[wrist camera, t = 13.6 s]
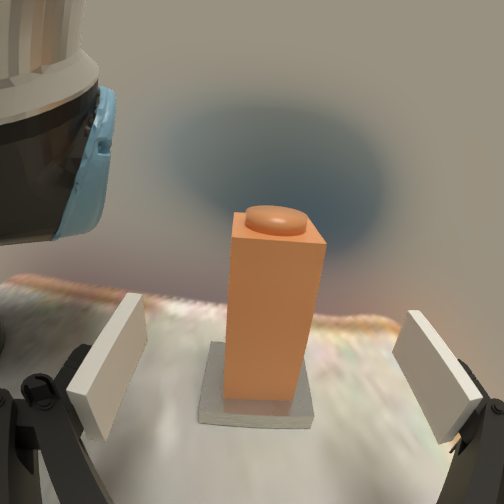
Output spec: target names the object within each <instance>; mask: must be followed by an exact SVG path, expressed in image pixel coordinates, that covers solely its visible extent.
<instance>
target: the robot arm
mask: <svg viewBox="0 0 504 504" xmlns="http://www.w3.org/2000/svg"><path fill="white" fill-rule="evenodd" d="M85 5H86V0H0V246H1V245H12V244H22V243H32V242H41V241H56V240H58V239H59V238H63V237H69V236H74V235H80V234H85V233H87V232H90V231H91V230H92V229H94V228H95V227H96V225H97V224H98V223H99V220H100V218H101V215H102V212H103V208H104V202H105V197H106V190H107V182H108V174H109V167H110V157H111V155H110V148H111V145H112V137H113V132H114V124H115V113H116V95H115V92H114V91H113V90H112V89H107V88H106V87H105V86H99V87H98V76H99V67H98V65H97V64H96V62H95V61H94V60H92V59H91V58H90V57H89V56H88V55H87V54H86V53H85V52H84V51H83V50H82V49H81V46H80V43H81V34H82V26H83V18H84V12H85ZM4 341H5V330H4V327H3V324H2V321H1V318H0V353H1V351H2V348H3V345H4ZM147 341H148V340H147V332H146V323H145V314H144V304H143V294H136V293H127V294H126V296H125V297H124V299H123V300H122V302H121V303H120V305H119V306H118V308H117V309H116V311H115V312H114V314H113V315H112V317H111V318H110V320H109V321H108V323H107V324H106V326H105V327H104V329H103V330H102V332H101V333H100V335H99V337H98V338H97V340H96V341H95V343H94V344H93V346H91V345H86V344H82V345H80V346H79V347H77V348H76V349H75V350H73V352H72V353H71V355H70V356H69V358H68V360H67V361H66V362H65V364H64V367H62V368H61V370H60V371H59V373H58V374H57V376H56V378H55V379H54V381H53V379H52V378H51V377H50V376H48V375H47V374H42V373H39V374H33V375H31V376H28V377H27V378H26V379H25V380H24V381H23V383H22V385H21V393H22V395H23V397H24V398H25V399H13V397H12V396H11V394H10V393H9V391H7V390H6V389H1V388H0V504H42V497H41V488H40V477H39V463H38V450H41V453H42V456H43V459H44V462H45V465H46V467H47V470H48V473H49V476H50V479H51V481H52V484H53V486H54V489H55V491H56V494H57V496H58V499H59V501H60V503H61V504H114V503H113V501H112V499H111V498H110V496H109V494H108V492H107V491H106V489H105V487H104V485H103V483H102V481H101V479H100V477H99V475H98V474H97V472H96V470H95V468H94V466H93V463H92V461H91V459H90V457H89V455H88V453H87V451H86V449H85V446H84V444H83V442H82V440H81V438H80V437H81V434H82V432H83V430H84V431H85V433H86V435H87V437H88V438H90V439H93V440H97V441H101V442H104V443H106V441H107V438H108V435H109V433H110V430H111V428H112V425H113V422H114V420H115V417H116V415H117V412H118V410H119V407H120V405H121V402H122V400H123V397H124V395H125V392H126V390H127V387H128V385H129V383H130V380H131V378H132V375H133V373H134V371H135V368H136V366H137V364H138V361H139V359H140V357H141V354H142V352H143V350H144V347H145V345H146V343H147ZM392 353H393V355H394V357H395V359H396V360H397V362H398V364H399V366H400V368H401V370H402V372H403V374H404V375H405V377H406V379H407V381H408V383H409V385H410V387H411V389H412V391H413V393H414V395H415V397H416V399H417V401H418V403H419V405H420V407H421V409H422V411H423V413H424V415H425V417H426V419H427V421H428V423H429V425H430V427H431V429H432V431H433V434H434V436H435V438H436V440H437V442H438V444H442V443H446V442H449V441H452V440H453V439H454V437H455V436H456V435H457V433H458V432H459V434H460V435H461V438H460V439H459V441H458V442H457V443H456V444H455V446H454V447H453V448H452V449H451V451H450V452H449V453H452V452H453V451H454V450H455V449H456V450H455V453H454V456H453V459H452V463H451V466H450V469H449V472H448V475H447V477H446V480H445V483H444V486H443V488H442V491H441V493H440V496H439V498H438V501H437V503H436V504H504V402H503V401H501V400H499V399H495V398H494V399H490V397H489V396H488V394H487V393H486V391H485V390H484V388H483V387H482V385H481V384H480V383H479V381H478V380H476V377H475V375H474V374H472V371H471V370H470V369H469V367H468V366H467V365H466V364H465V363H464V362H462V361H461V360H460V359H456V358H455V356H454V355H453V354H452V352H451V351H450V349H449V348H448V347H447V345H446V344H445V343H444V341H443V340H442V339H441V337H440V336H439V335H438V333H437V332H436V331H435V329H434V328H433V327H432V326H431V324H430V323H429V322H428V321H427V319H426V318H425V317H424V315H423V314H422V313H421V312H420V310H408V311H407V314H406V317H405V319H404V322H403V325H402V328H401V330H400V333H399V336H398V338H397V341H396V344H395V346H394V349H393V351H392Z"/></svg>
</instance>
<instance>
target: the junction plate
mask: <svg viewBox="0 0 504 504" xmlns="http://www.w3.org/2000/svg"><path fill="white" fill-rule="evenodd" d="M225 346H226V343H223V342H212V341H211V344H210V349H209V355H208V360H207V365H206V371H205V376H204V381H203V387H202V392H201V398H200V403H199V409H198V416H199V423H205V424H214V425H225V426H238V427H254V428H288V429H302V428H310V427H311V424H312V421H313V419H314V411H313V406H312V400H311V394H310V389H309V383H308V378H307V372H306V367H305V361H304V358H303V362H302V366H301V370H300V374H299V378H298V382H297V386H296V390H295V394H294V398H293V400H244V399H225V398H223V391H224V368H225Z"/></svg>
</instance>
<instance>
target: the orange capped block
mask: <svg viewBox="0 0 504 504" xmlns="http://www.w3.org/2000/svg"><path fill="white" fill-rule="evenodd" d="M326 245H327V244H326V242H325V241H324V239H323V238H322V237H321V236H320V234H319V232H318V231H317V229H316V228H315V227H314V225H313V224H312V222H311V221H310V220H309V218H308V216H307V215H306V214H304V213H303V212H300V211H298V210H295V209H291V208H286V207H279V206H254V207H250V208H248V209H247V210H246V213H237V212H234V220H233V229H232V239H231V256H230V272H229V289H228V307H227V326H226V346H225V368H224V391H223V398H225V399H244V400H293V398H294V394H295V390H296V386H297V382H298V378H299V374H300V370H301V366H302V362H303V358H304V354H305V349H306V345H307V341H308V336H309V332H310V327H311V322H312V318H313V313H314V308H315V303H316V299H317V293H318V288H319V283H320V278H321V272H322V268H323V262H324V257H325V251H326Z"/></svg>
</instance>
